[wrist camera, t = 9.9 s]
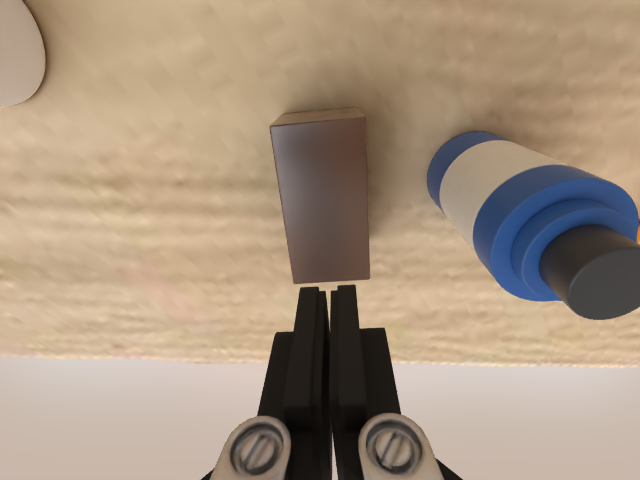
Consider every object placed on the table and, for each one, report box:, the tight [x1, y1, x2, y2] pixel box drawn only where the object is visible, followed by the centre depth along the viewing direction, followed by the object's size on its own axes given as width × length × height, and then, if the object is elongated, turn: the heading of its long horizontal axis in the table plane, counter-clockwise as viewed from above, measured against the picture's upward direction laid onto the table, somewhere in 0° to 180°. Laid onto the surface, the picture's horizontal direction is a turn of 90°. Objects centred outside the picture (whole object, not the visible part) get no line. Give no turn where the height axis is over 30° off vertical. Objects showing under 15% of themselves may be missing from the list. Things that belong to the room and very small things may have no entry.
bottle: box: [427, 131, 640, 320], centre depth 18 cm, size 12×6×13 cm
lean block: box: [270, 107, 370, 284], centre depth 22 cm, size 5×10×5 cm, turn 5°
